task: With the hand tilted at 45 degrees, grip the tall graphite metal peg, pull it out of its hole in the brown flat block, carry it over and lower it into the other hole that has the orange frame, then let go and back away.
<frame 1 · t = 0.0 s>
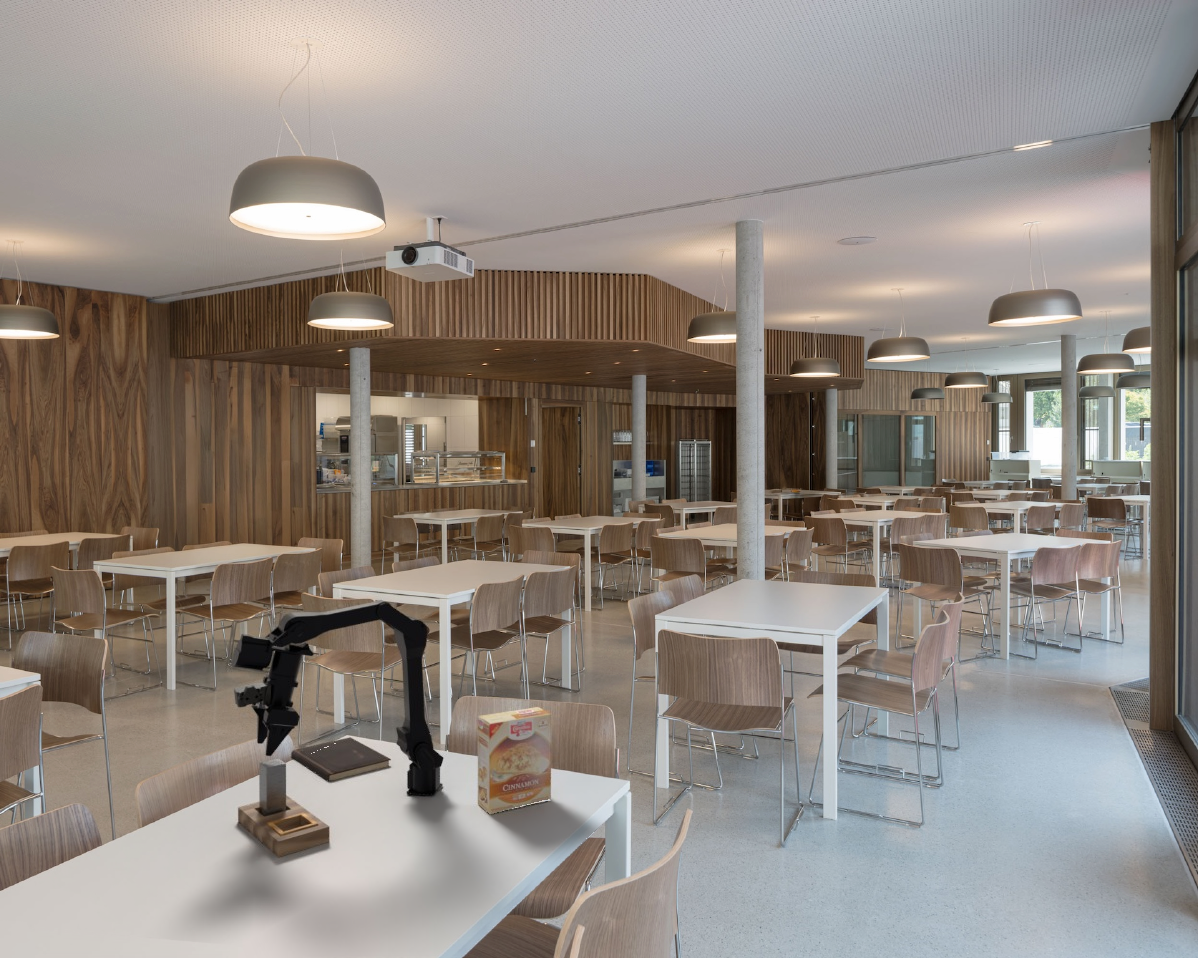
hand: (263, 749, 173), 15 cm above the table, tool pointing down, fingers open, 9 cm apart
hardcover book: (340, 764, 211), on the table
peg: (272, 823, 173), resting in brown flat block
brown flat block: (282, 831, 170), on the table
coffeecake box: (514, 803, 184), on the table
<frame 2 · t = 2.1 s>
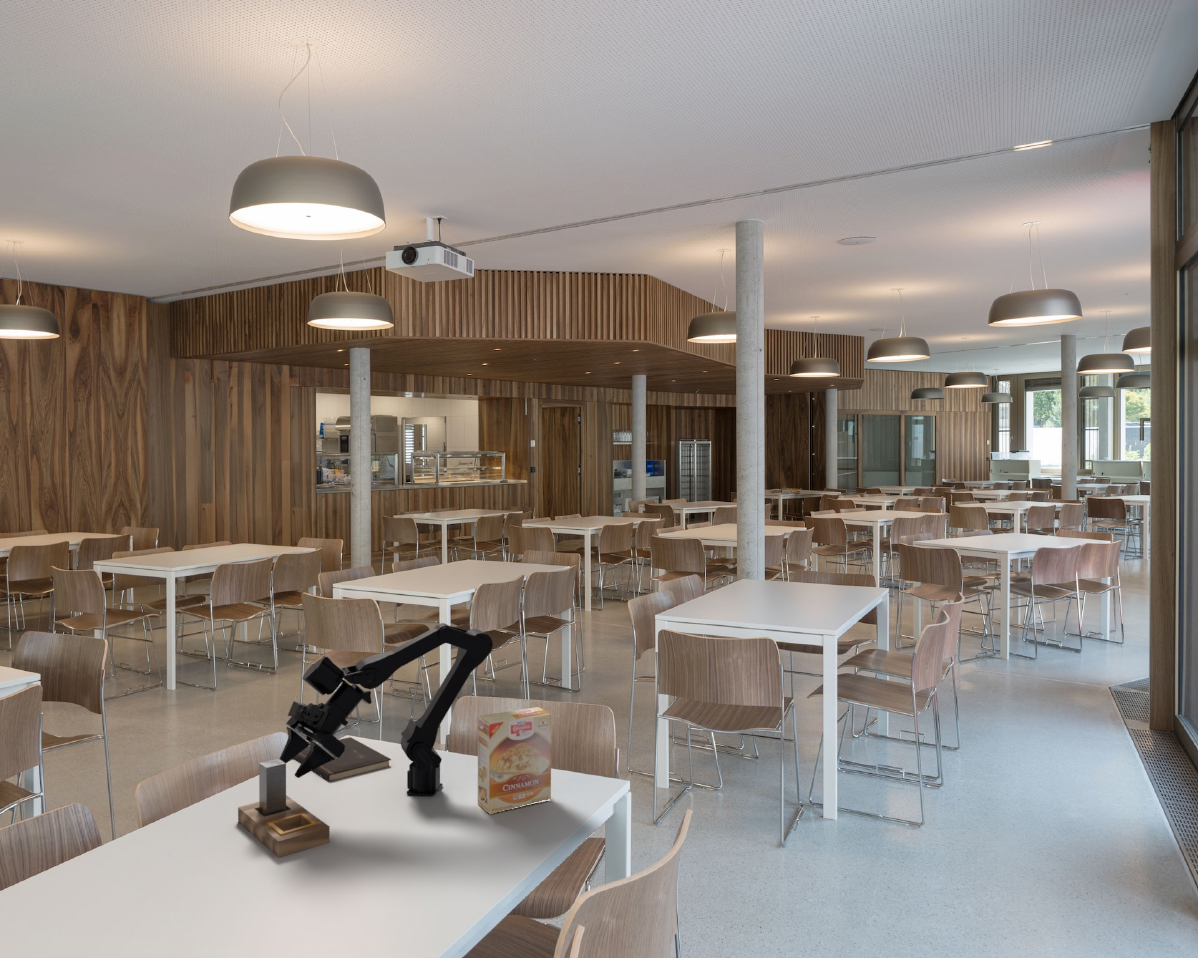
hand: (287, 770, 176), 10 cm above the table, tool tilted 45°, fingers open, 9 cm apart
nothing on the table moved.
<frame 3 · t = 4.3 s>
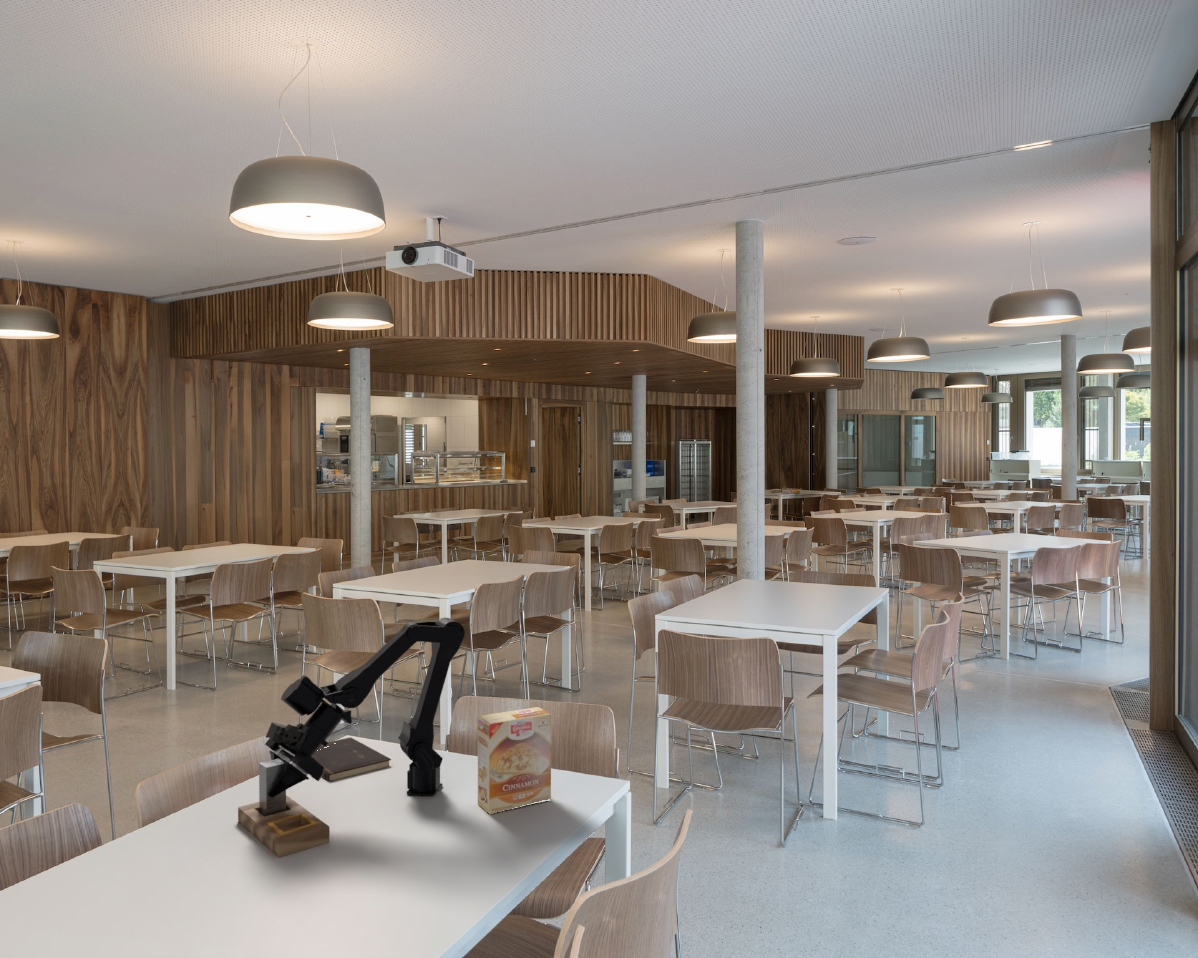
hand: (265, 793, 172), 7 cm above the table, tool tilted 45°, fingers closed on peg, 4 cm apart
peg: (272, 823, 173), resting in brown flat block, touching gripper
everything else where it was.
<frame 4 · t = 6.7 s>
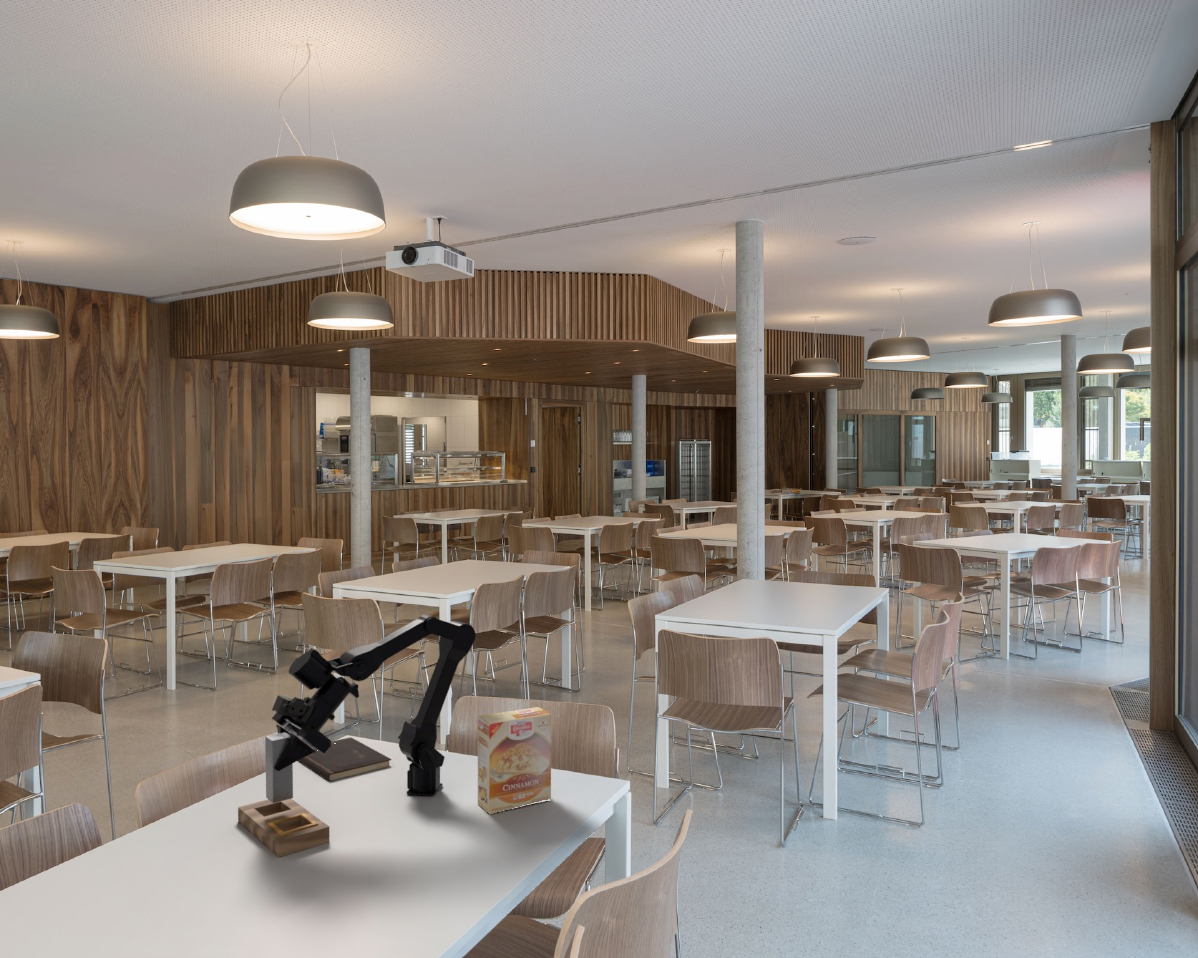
hand: (272, 766, 170), 13 cm above the table, tool tilted 45°, fingers closed on peg, 4 cm apart
peg: (279, 797, 171), point 6 cm above the table, touching gripper
everything else where it was.
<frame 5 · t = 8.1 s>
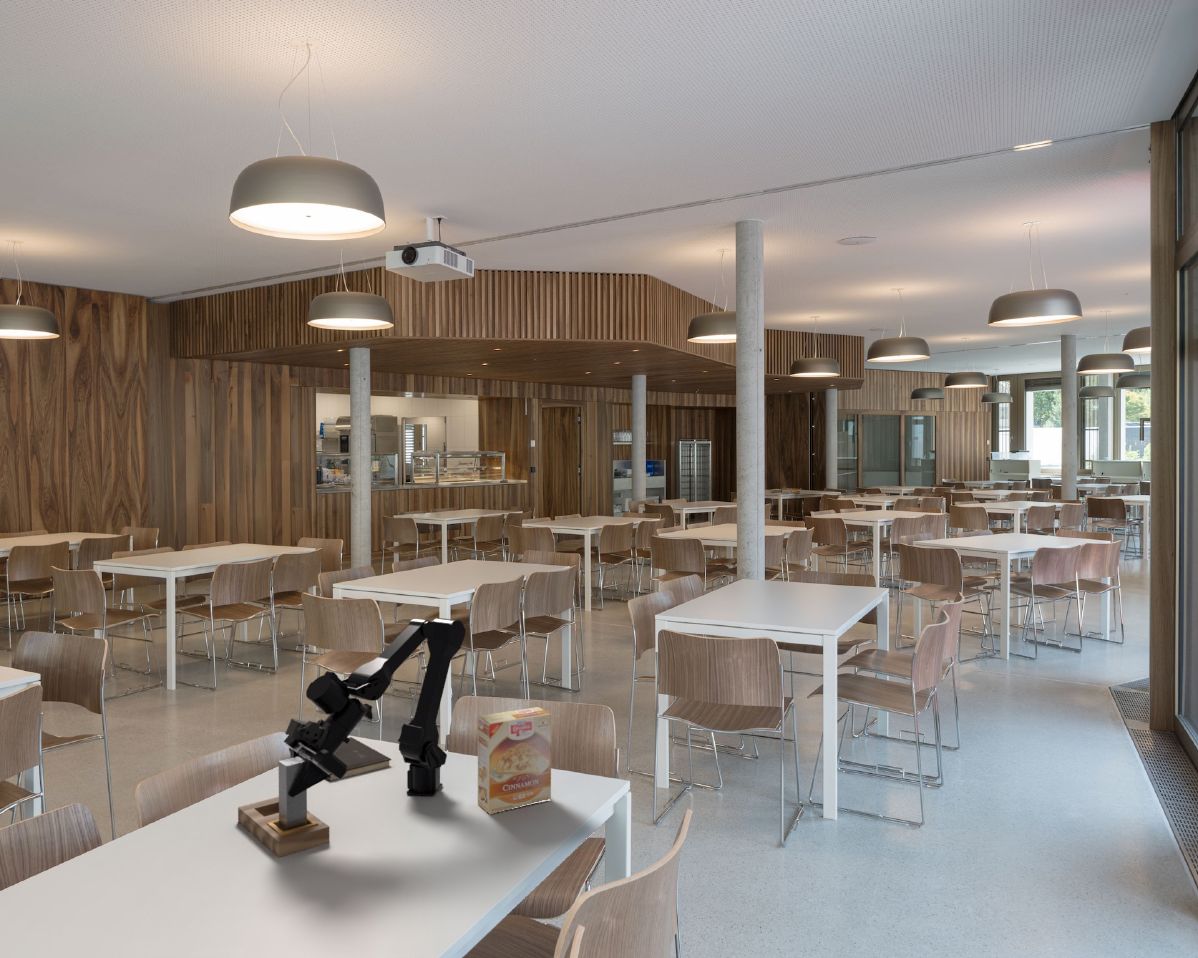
hand: (285, 792, 165), 10 cm above the table, tool tilted 45°, fingers closed on peg, 4 cm apart
peg: (293, 824, 166), point 3 cm above the table, touching gripper
everything else where it was.
when the fingers open (7 cm above the table, at t = 9.3 s): peg stays where it is, resting in brown flat block.
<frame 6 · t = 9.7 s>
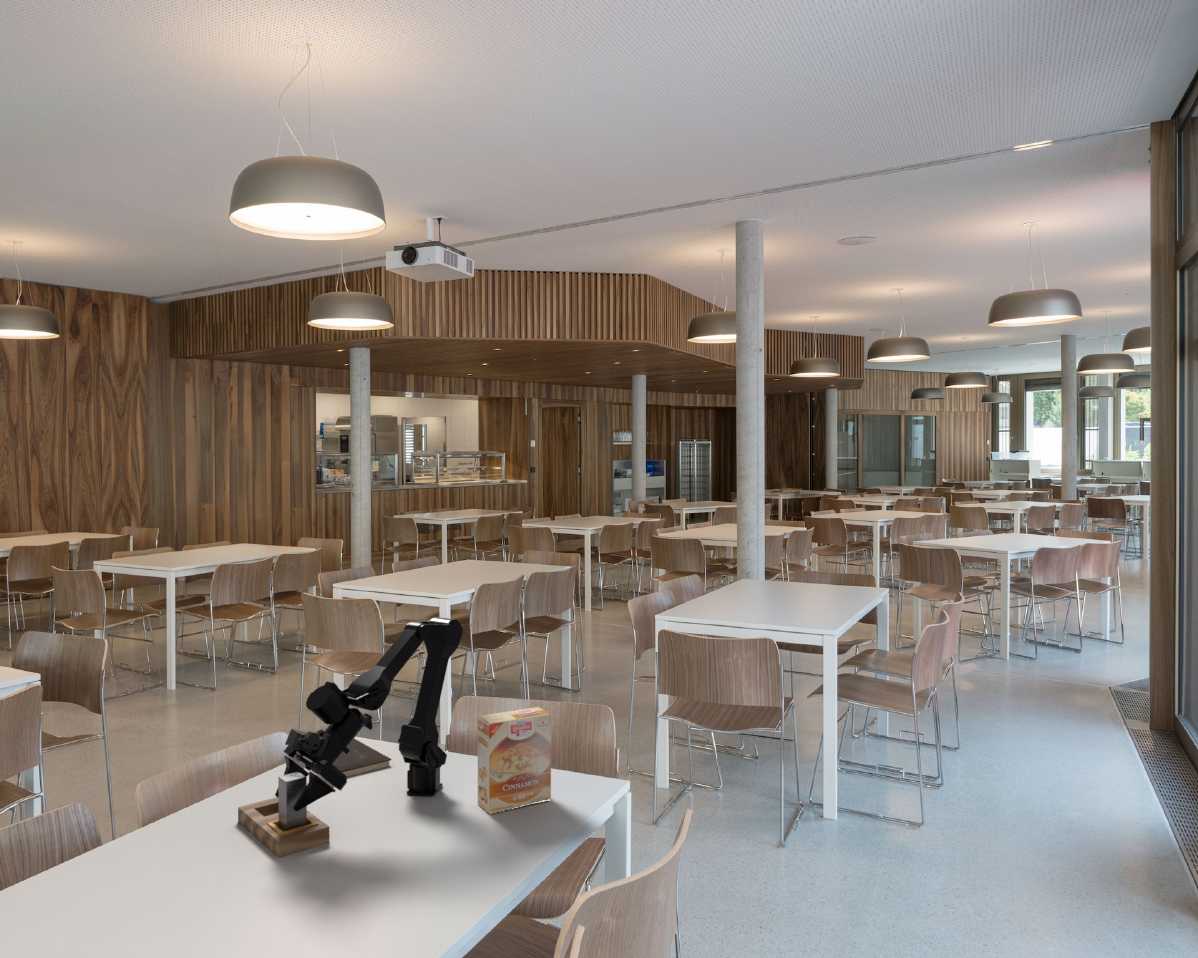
hand: (285, 803, 165), 8 cm above the table, tool tilted 45°, fingers open, 9 cm apart
peg: (292, 839, 166), resting in brown flat block
everything else where it was.
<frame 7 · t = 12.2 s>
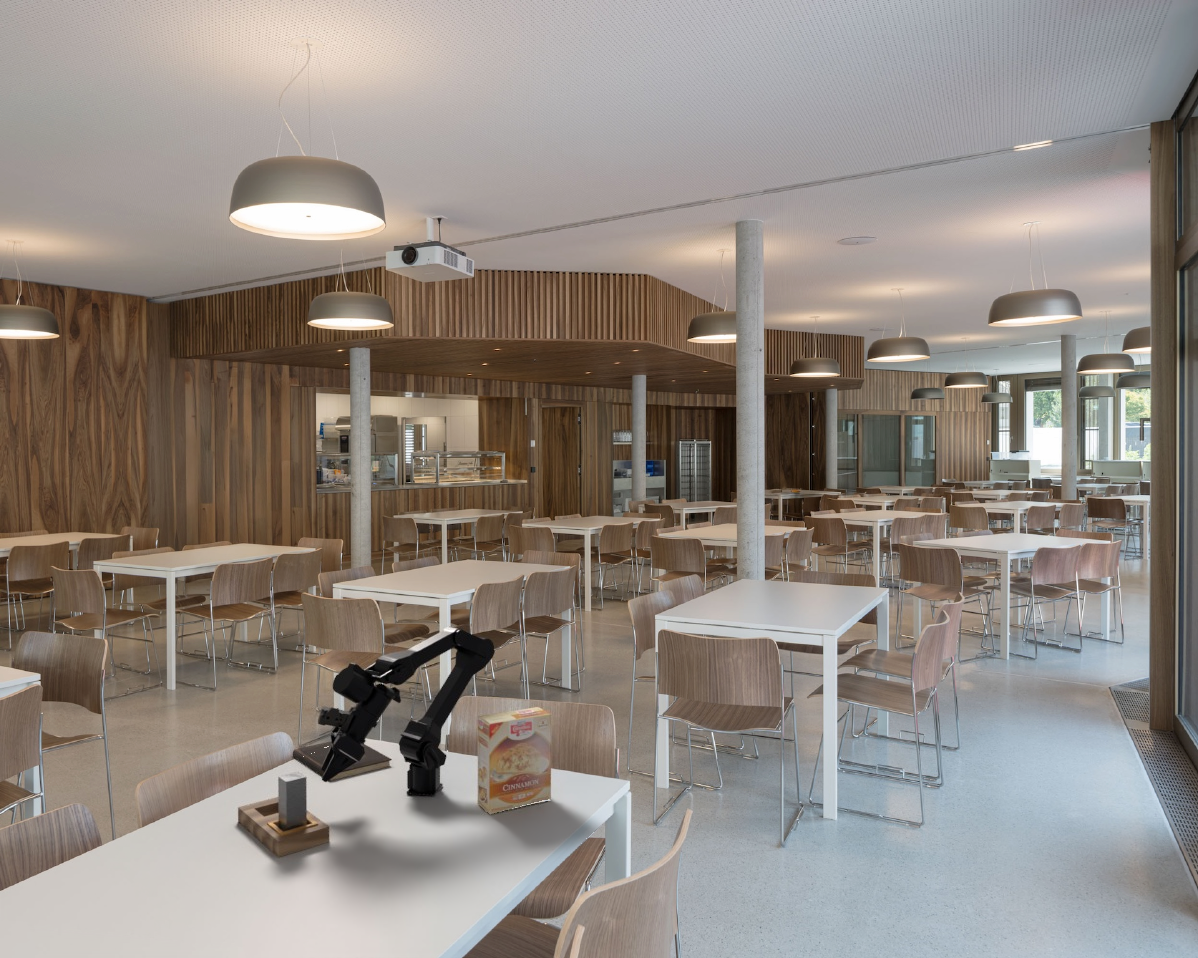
hand: (323, 775, 176), 9 cm above the table, tool tilted 35°, fingers open, 9 cm apart
nothing on the table moved.
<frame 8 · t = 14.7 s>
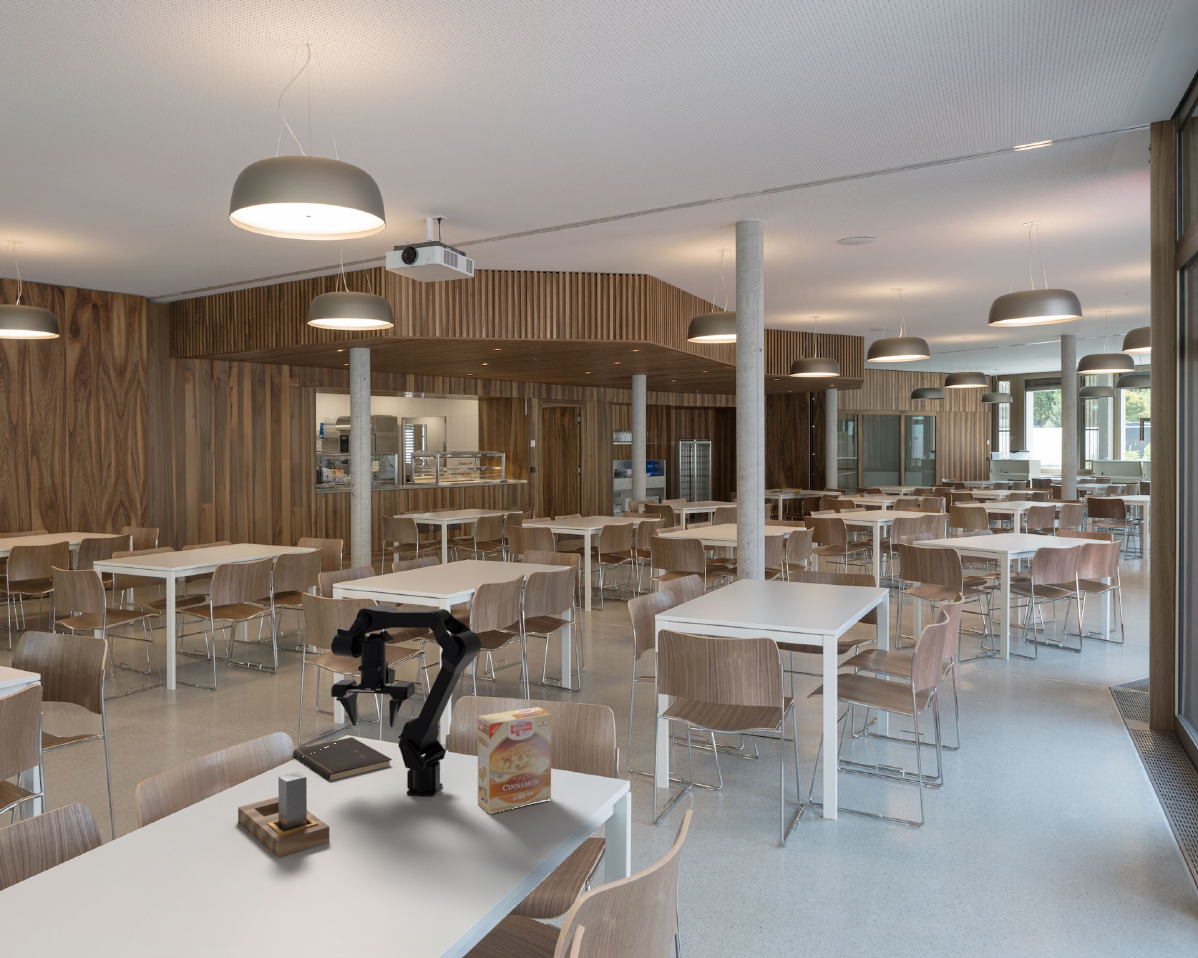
hand: (373, 725, 197), 13 cm above the table, tool pointing down, fingers open, 9 cm apart
nothing on the table moved.
at the end: peg 0.1 cm from the target spot, resting in brown flat block; peg tilted 0°; the gripper is holding nothing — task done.
